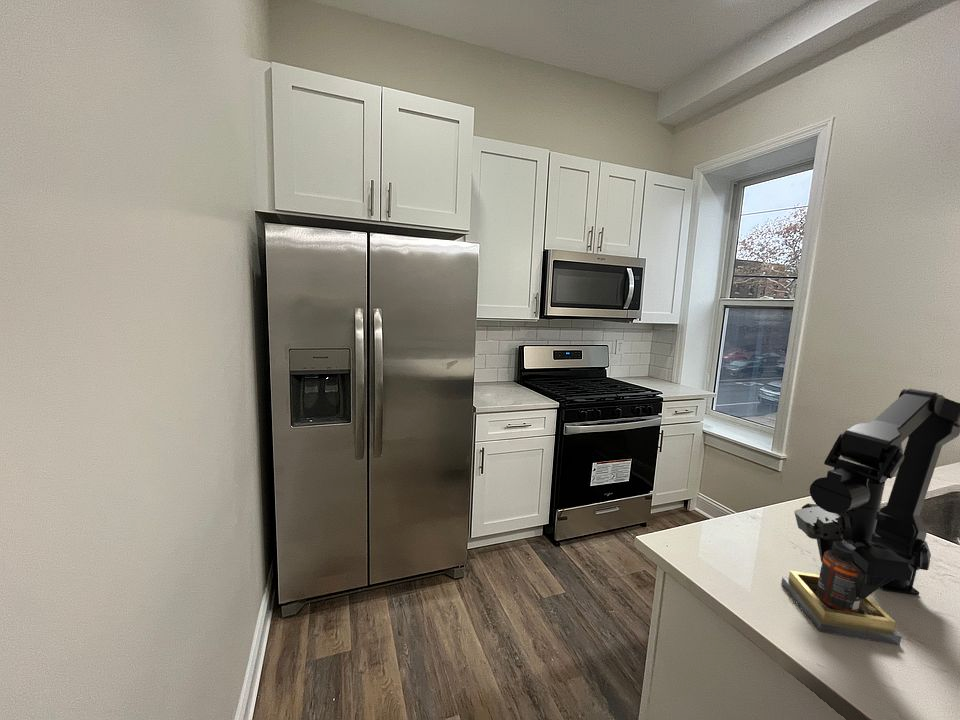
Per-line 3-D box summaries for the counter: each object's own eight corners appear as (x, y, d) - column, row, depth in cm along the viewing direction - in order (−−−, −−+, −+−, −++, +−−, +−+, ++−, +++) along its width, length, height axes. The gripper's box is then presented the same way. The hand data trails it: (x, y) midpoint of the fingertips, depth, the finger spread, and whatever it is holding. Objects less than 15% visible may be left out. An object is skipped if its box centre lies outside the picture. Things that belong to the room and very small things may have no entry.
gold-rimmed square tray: (848, 593, 79) (851, 577, 78) (899, 645, 67) (904, 626, 66) (781, 583, 81) (784, 567, 80) (819, 631, 69) (823, 613, 68)
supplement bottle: (867, 618, 70) (879, 560, 68) (828, 611, 71) (840, 554, 69) (844, 594, 76) (855, 540, 74) (808, 588, 77) (818, 535, 75)
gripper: (778, 473, 81) (766, 542, 83) (843, 523, 63) (825, 610, 65) (840, 479, 79) (826, 550, 81) (925, 533, 61) (904, 622, 63)
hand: (841, 579), depth 73 cm, fingers open, 9 cm apart
